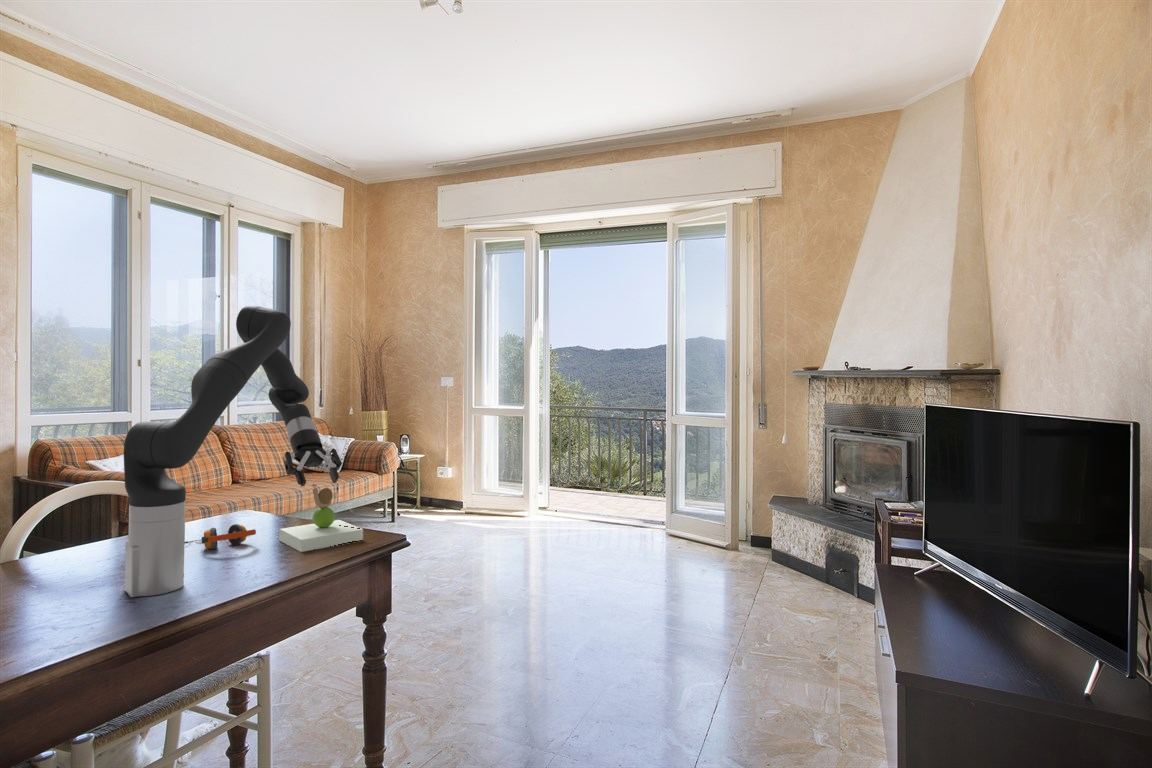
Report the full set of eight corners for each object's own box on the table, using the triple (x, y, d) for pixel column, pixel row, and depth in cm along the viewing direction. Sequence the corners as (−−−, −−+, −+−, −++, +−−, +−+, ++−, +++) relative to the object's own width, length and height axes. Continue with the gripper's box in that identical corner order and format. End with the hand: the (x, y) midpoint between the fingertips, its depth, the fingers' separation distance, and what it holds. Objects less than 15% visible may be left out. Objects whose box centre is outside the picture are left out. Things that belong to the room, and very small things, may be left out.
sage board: (300, 552, 147) (301, 539, 147) (279, 540, 156) (279, 528, 156) (362, 540, 158) (363, 529, 158) (339, 530, 168) (339, 519, 168)
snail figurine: (304, 529, 157) (305, 483, 157) (323, 524, 163) (325, 479, 163) (320, 531, 155) (321, 485, 155) (339, 526, 160) (340, 481, 160)
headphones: (243, 522, 164) (272, 518, 151) (244, 542, 163) (273, 539, 150) (173, 533, 151) (198, 530, 139) (174, 554, 151) (199, 552, 138)
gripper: (281, 429, 162) (296, 477, 154) (333, 426, 172) (350, 471, 164) (273, 446, 166) (288, 494, 158) (324, 443, 176) (341, 488, 168)
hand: (320, 482), depth 161 cm, fingers open, 8 cm apart
